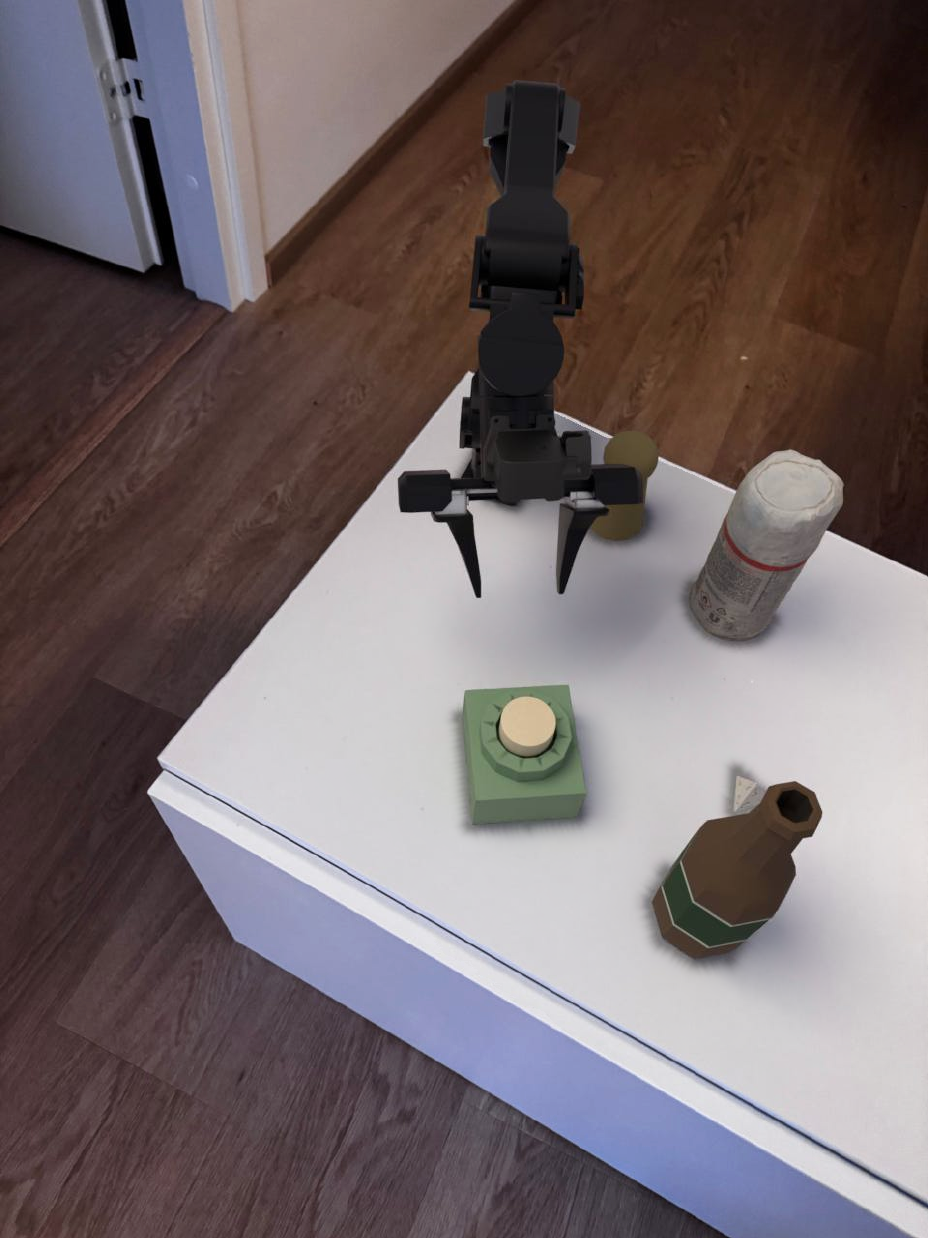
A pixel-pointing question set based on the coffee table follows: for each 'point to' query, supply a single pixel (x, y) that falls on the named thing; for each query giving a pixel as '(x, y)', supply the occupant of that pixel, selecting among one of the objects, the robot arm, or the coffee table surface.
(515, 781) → the green button housing
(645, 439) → the olive game pawn
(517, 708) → the beige push button
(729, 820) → the beer bottle
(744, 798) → the white speckled wedge
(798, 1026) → the coffee table surface
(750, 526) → the spray can
